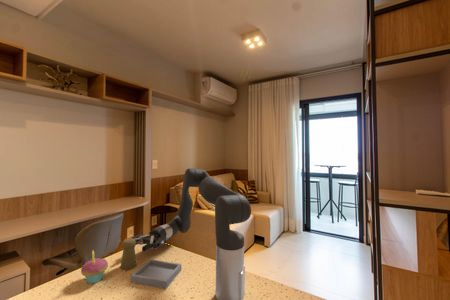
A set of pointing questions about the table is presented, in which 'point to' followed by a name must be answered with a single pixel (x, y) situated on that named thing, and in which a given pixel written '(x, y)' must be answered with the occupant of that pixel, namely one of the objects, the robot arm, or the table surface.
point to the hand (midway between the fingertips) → (135, 247)
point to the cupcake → (94, 269)
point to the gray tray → (156, 273)
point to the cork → (128, 254)
